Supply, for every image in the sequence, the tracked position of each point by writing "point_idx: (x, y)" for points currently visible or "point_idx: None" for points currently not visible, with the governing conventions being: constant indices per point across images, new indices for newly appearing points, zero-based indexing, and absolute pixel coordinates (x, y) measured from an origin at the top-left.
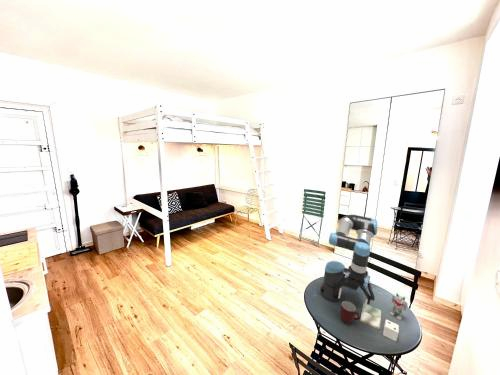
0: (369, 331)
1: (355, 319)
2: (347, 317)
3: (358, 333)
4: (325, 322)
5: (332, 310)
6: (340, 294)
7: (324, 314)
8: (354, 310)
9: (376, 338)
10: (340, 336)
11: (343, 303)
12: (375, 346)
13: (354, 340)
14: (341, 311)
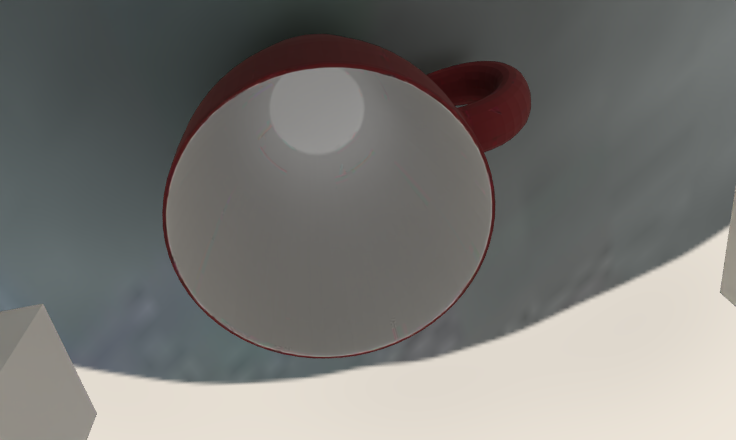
0: (625, 48)
1: (453, 102)
2: (361, 253)
3: (506, 191)
4: (145, 338)
5: (77, 77)
6: (35, 436)
7: (54, 243)
8: (437, 104)
9: (704, 95)
10: (354, 369)
11: (192, 139)
12: (685, 214)
13: (485, 308)
14: (246, 263)
